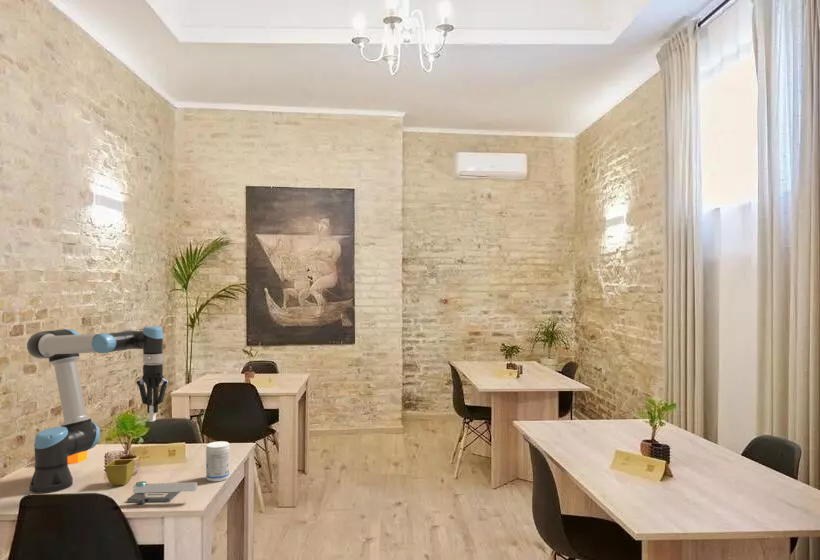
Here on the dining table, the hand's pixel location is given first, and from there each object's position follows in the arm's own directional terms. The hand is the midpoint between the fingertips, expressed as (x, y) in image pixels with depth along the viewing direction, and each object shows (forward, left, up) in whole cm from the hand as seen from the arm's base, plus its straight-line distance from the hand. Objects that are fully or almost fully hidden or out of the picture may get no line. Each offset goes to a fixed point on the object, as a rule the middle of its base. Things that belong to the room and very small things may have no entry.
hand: (152, 420), depth 244 cm
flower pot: (-14, +2, -27) cm, 30 cm away
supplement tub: (+25, +7, -27) cm, 37 cm away
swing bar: (+14, -21, -22) cm, 33 cm away
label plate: (+7, -13, -27) cm, 30 cm away
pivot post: (+5, -21, -27) cm, 34 cm away
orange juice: (-53, +36, -27) cm, 70 cm away
